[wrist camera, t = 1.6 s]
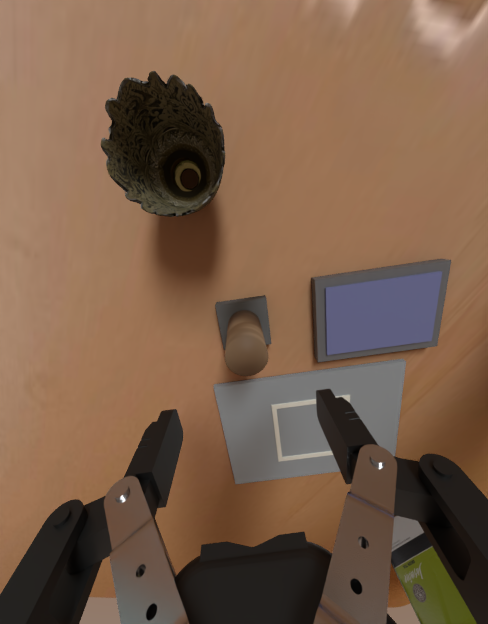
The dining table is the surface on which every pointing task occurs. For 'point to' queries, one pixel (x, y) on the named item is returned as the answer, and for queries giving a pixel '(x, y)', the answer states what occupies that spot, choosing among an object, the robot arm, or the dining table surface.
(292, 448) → the board
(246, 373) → the stamp
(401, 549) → the tea box
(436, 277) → the ink pad
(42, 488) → the dining table surface
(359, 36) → the dining table surface
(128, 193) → the cup
